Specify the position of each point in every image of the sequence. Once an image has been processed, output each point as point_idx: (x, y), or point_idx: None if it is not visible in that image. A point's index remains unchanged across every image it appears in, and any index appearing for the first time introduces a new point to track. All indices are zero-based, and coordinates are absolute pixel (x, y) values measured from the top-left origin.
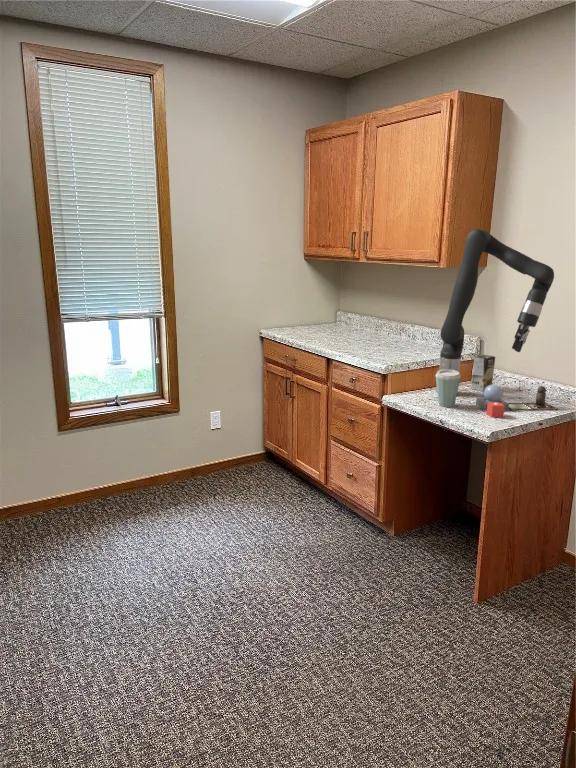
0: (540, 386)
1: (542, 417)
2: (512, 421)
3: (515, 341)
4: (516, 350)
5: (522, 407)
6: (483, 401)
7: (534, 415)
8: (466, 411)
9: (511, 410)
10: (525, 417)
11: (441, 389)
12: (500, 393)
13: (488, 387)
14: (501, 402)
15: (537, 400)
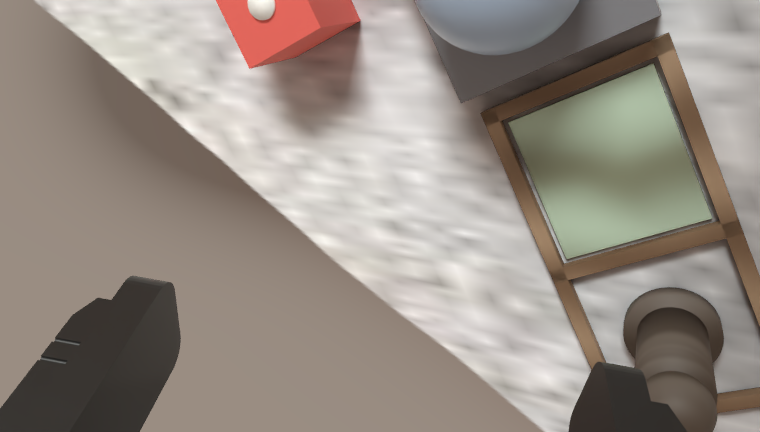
0: (680, 417)
1: (401, 289)
2: (245, 109)
3: (1, 417)
4: (589, 390)
5: (596, 203)
6: None
7: (426, 252)
8: None
9: (485, 117)
10: (358, 192)
11: None
12: (438, 34)
13: None
14: None
15: (648, 332)
